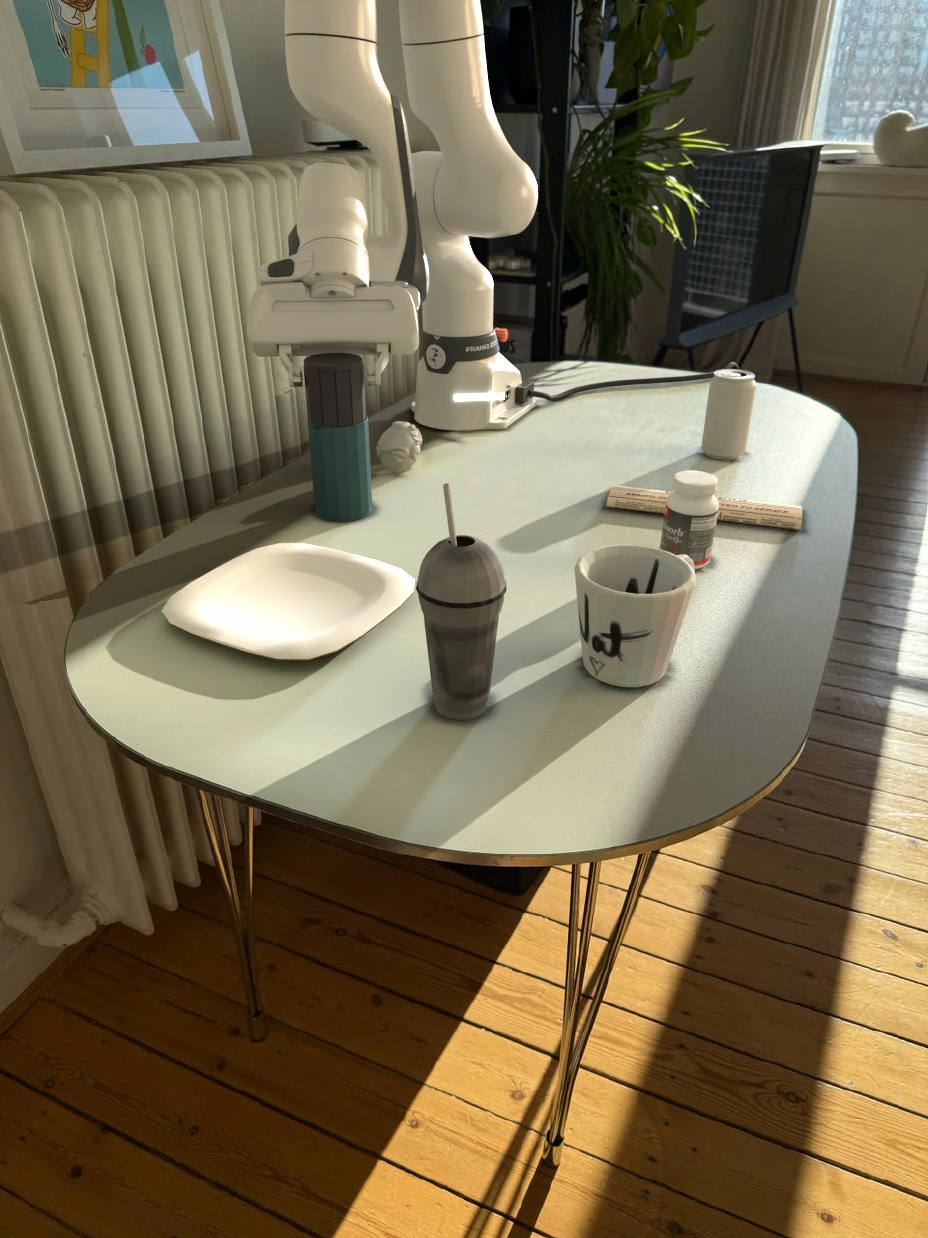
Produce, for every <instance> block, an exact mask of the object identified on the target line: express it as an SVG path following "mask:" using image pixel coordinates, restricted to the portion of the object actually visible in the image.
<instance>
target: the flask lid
mask: <svg viewBox="0 0 928 1238" xmlns="http://www.w3.org/2000/svg"><path fill="white" fill-rule="evenodd" d="M302 367H303V380H304V389H305V402H306V403H305V404H306V412H307V414H306V415H307V418H308V419H307V421H308V420H309V421H310V422H311V423H312V424H315V425H319V426H324V427H338V426H339V427H342V426H350V425H355V424H357V423H360V422H363V421H364V419H365V418H366V415H367V409H366V407H367V406H366V388H365V387H366V385H365V369H364V368H365V367H364V363H363V357H361V355H354V354H349V353H323V354H316V355H312V356H306V357H305V358H304V359H303V366H302Z"/></svg>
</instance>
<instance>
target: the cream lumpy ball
mask: <svg viewBox="0 0 928 1238" xmlns="http://www.w3.org/2000/svg"><path fill="white" fill-rule="evenodd" d="M422 444H423V437H422V434H421V432H420V429H419V428H417V427H416V425H415V424H412V423H410V422H408V421H402V420H395V421H394V422H392V423H391V425H390V426H389V428H388V429H386V430H385V431H384V432H383V433H382V434H381V436H380V438H379V440H377V445H376V447H375V450H376V456H377V457H378V458H379V459H380V462H381V465H382V466H383V467H384V469H386V470H387V471H388V472H390V473H392V474H399V475H400V474H404V473H406V472H408V471H409V470H410V469H412V468H413V466H414V465H415V463H417V461H418V460H417V459H418V455H419V454H420V452H421V447H422Z"/></svg>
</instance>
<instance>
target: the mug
mask: <svg viewBox="0 0 928 1238" xmlns="http://www.w3.org/2000/svg"><path fill="white" fill-rule="evenodd" d="M573 570H574V579H575V581H574V582H575V590H576V600H577V601H576V602H577V611H578V622H579V633H580V644H581V645H580V646H581V655H582V661H583V666H584V668H585V670H586V671H587V672H588V673H589V675H590V676H592V677H593V678H594V679H596V680H598V681H600V682H603V683H605V684H607V685H611V686H616V687H620V688H641V687H647V686H651V685H652V684H655V683H657V682H659V681H660V680H661V679H662V678H663V677H664V676H665V675H666V673H667V670H668V667H669V664H670V661H671V658H672V654H673V652H674V649H675V646H676V643H677V639H678V636H679V633H680V631H681V627H682V624H683V621H684V618H685V615H686V612H687V609H688V606H689V602H690V601H691V597H692V594H693V591H694V588H695V584H696V580H697V574H696V569H694V563H693V560H692V559H691V558H690V557H689V556H688V555H674V554H672V553H670V552H667V551H663V550H660V548H655V547H652V546H647V545H646V546H645V545H637V544H613V545H606V546H601V547H597V548H594V549H591V550H588V551H586V552H585V553H584V554H582V555H581V556H579V557H578V559H577V561H576V563H575V565H574V568H573Z"/></svg>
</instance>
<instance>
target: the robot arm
mask: <svg viewBox="0 0 928 1238" xmlns="http://www.w3.org/2000/svg"><path fill="white" fill-rule="evenodd" d="M481 6H482V5H481V0H398V17H399V31H400V40H401V41H400V42H401V48H402V49H401V50H402V57H403V66H404V73H405V83H406V89H407V99H408V103H409V108H410V109H411V111H412V113H413V114H414V116H415V118H417V120H419V121H420V122H421V123H423V124H424V125H425V126H426V127H427V128H428V129H429V130H430V132H431V133H432V135H433V136H434V138H435V140H436V142H437V145H438V146H439V149H440V151H438V150H437V151H434V150H433V151H432V150H422V151H417V152H412V151H411V144H410V139H409V138H410V137H409V131H408V125H407V120H406V116H405V111H404V109H403V105H402V103H401V100H400V98H399V97H397V96H396V95H395V94H393V93H392V92H390V91H389V89H388V87H387V85H386V83H385V80H384V78H383V75H382V73H381V69H380V64H379V56H378V12H377V11H378V9H377V0H284V52H285V64H286V71H287V79H288V85H289V87H290V90H291V91H292V93H293V96H294V98H295V99H296V100H297V102H298V103H299V104H300V106H301V107H302V108H303V109H304V110H305V111H306V112H307V113H308V114H309V115H310V116H312V117H313V118H315V119H316V120H318V121H319V122H321V123H322V124H325V125H326V126H328V127H330V128H332V129H334V130H336V131H338V132H340V133H342V134H344V135H346V136H348V137H350V138H351V139H354V140H356V141H357V142H359V143H361V144H362V145H363V146H365V147H367V149H368V150H369V151H371V152H372V154H373V155H374V156H375V158H376V160H377V161H378V163H379V165H380V168H381V174H382V180H383V181H382V190H381V191H382V200H383V205H384V208H385V210H386V212H387V216H388V223H389V224H388V225H389V229H388V231H387V232H386V233H384V234H379V235H378V234H369V212H368V204H367V198H366V193H365V192H366V191H365V186H364V183H363V178H362V176H361V174H360V173H359V171H358V170H357V169H356V168H354V167H352V166H351V165H349V164H347V163H343V162H339V161H318V162H315V163H312V164H310V165H309V166H307V167H306V168H305V169H304V170H303V172H302V175H301V178H300V183H299V190H298V196H297V206H296V207H297V208H296V224H295V225H294V226H293V227H292V229H291V230H290V232H289V234H288V235H287V244H288V256H285V257H282V258H280V259H276V260H273V261H270V262H265V263H264V264H263V263H262V264H261V265H260V266H259V268H258V271H257V272H258V273H257V274H258V276H257V277H258V287H257V288H256V289H255V290H254V292H253V294H252V295H251V299H250V303H249V308H248V314H247V323H246V324H247V326H246V337H247V341H248V345H249V348H250V350H251V351H252V352H253V354H255V356H257V357H260V358H264V357H266V358H268V357H272V358H273V357H279V359H280V363H281V365H282V366H283V368H284V369H285V371H286V372H287V374H288V376H287V377H288V384H289V387H290V388H299V387H300V388H303V384H304V382H303V380H304V373H303V370H302V367H301V366H294V364H293V362H294V357H309V356H312V355H316V354H323V353H349V354H354V355H358V356H376V361H375V363H374V365H367V367H366V370H367V386H375V387H376V386H381V374H382V373H383V371H384V370H385V368H386V367H387V365H388V364H389V362H390V357H389V356H400V355H401V356H405V355H409V356H410V355H413V354H414V353H415V352H416V351H417V350H418V348H419V353H420V354H421V355H422V358H421V359H420V360H419V361H418V363H417V370H416V381H415V382H416V383H415V397H414V401H412V402H411V404H410V405H411V406H410V410H411V412H413V413H414V415H413V418H414V419H413V420H414V421H415V422H417V423H418V424H420V425H422V426H425V427H428V428H432V429H438V430H443V431H444V430H445V431H475V430H488V429H489V430H502V429H507V428H508V427H509V426H511V425H512V424H513V423H515V422H516V421H517V420H519V419H520V418H521V417H523V416H524V415H525V414H527V413H528V412H530V411H531V410H532V409H533V408H535V407H536V400H535V399H534V398H540V399H544V400H546V401H548V402H555V401H556V402H557V401H560V400H563V399H565V398H567V397H570V396H572V395H574V394H575V395H576V394H578V393H583V392H587V391H593V390H598V389H605V388H613V387H623V386H636V385H652V384H653V385H654V384H666V383H667V384H669V383H682V382H692V381H701V380H707V379H712V378H713V377H714V372H715V371H712V372H711V371H710V372H706V373H697V374H689V375H677V376H663V377H660V376H659V377H647V378H646V377H645V378H631V379H619V380H617V379H616V380H610V381H609V380H608V381H602V382H595V383H589V384H584V385H580V386H575V387H572V388H570V389H567V390H565V391H563V392H560V393H557V394H550V393H547V392H543V391H538V390H535V381H531V380H526V379H525V380H523V381H522V374H521V372H520V370H519V369H518V368H517V367H515V366H514V364H512V363H511V362H510V361H509V360H508V359H507V358H506V357H505V356H504V355H502V354H501V353H500V346H499V341H500V342H502V343H505V342H507V340H508V338H509V331H508V329H507V328H499V327H495V328H494V290H495V289H494V285H495V284H494V280H493V277H492V274H491V273H490V271H489V270H488V269H487V267H485V266H484V265H483V264H482V262H480V261H479V260H478V259H477V257H476V255H475V254H474V252H473V249H472V247H471V245H470V240H469V237H472V238H473V237H474V238H483V239H496V238H503V237H509V236H514V235H518V234H521V233H522V232H523V231H524V230H526V228H527V227H528V226H529V225H530V223H531V222H532V220H533V218H534V216H535V213H536V210H537V206H538V199H539V192H538V191H539V190H538V184H537V180H536V177H535V174H534V173H533V171H532V169H531V167H530V166H529V165H528V164H527V162H525V161H523V160H522V158H521V157H520V156H518V154H517V153H516V151H514V150H513V148H512V146H511V145H510V144H509V142H508V140H507V138H506V136H505V134H504V132H503V129H502V128H501V125H500V123H499V121H498V118H497V116H496V112H495V109H494V107H493V103H492V98H491V94H490V93H491V92H490V86H489V79H488V69H487V58H486V49H485V35H484V23H483V14H482V7H481ZM420 307H421V313H422V314H421V315H422V317H421V318H422V328H421V329H420V331H419V324H418V323H419V322H418V315H417V312H418V311H419V309H420ZM722 369H738V370H741V369H740V367H739V365H738V364H737V363H736V362H734V361H731V362H729V363H728V364H726V365H725V366H724V367H723V368H722Z"/></svg>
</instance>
